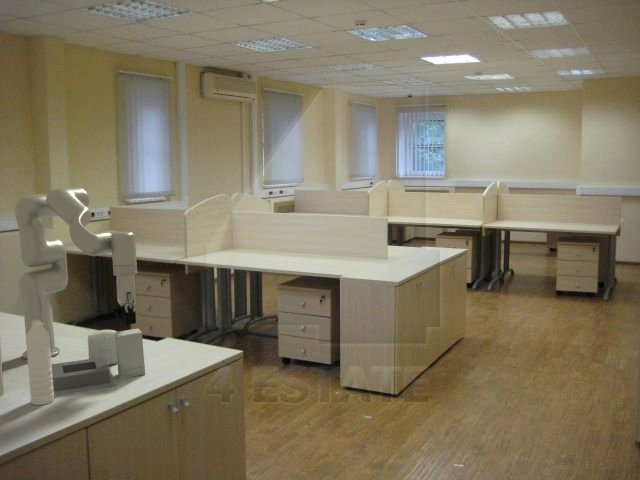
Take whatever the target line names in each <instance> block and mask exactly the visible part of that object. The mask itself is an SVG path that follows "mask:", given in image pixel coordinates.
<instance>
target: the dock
mask: <svg viewBox="0 0 640 480" xmlns="http://www.w3.org/2000/svg"><path fill="white" fill-rule="evenodd" d="M51 367H52V375H53V379H52V380H53V388H54V390H53V392H54V397H55V396H60V395H66V394H73V393H80V392H85V391H86V392H87V391H91V390H92V391H93V390H99V389H105V388H106V389H107V388H110V387H111V388H112V387H116V386H117V383H116V381H115V378H114V375H113V372H112V370H111V368H110V366H109V365H107V362H106V360H105V357H101V358H94V359H89V358H87V359H82V360H81V359H80V360H72V361H64V362H59V363H52V366H51Z"/></svg>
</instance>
